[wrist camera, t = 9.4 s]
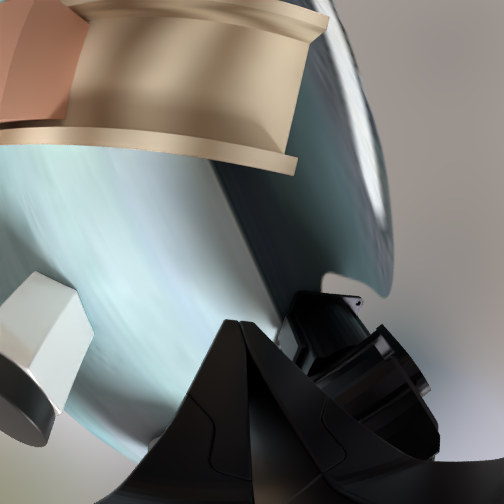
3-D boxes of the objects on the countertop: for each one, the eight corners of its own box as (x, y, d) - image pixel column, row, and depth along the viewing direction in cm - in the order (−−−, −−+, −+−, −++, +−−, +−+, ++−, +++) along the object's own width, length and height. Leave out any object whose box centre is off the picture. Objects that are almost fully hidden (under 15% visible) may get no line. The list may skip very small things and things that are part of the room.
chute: (307, 36, 14) (329, 16, 11) (277, 167, 18) (293, 176, 14) (22, 28, 10) (-4, 18, 6) (-4, 141, 13) (-35, 147, 10)
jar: (45, 253, 18) (-42, 346, 7) (110, 322, 21) (67, 441, 10) (9, 303, 19) (-51, 384, 8) (64, 359, 22) (26, 451, 11)
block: (90, 25, 11) (41, -13, 4) (65, 119, 13) (-2, 119, 7) (19, 39, 9) (-35, 22, 3) (-1, 123, 12) (-64, 131, 6)
